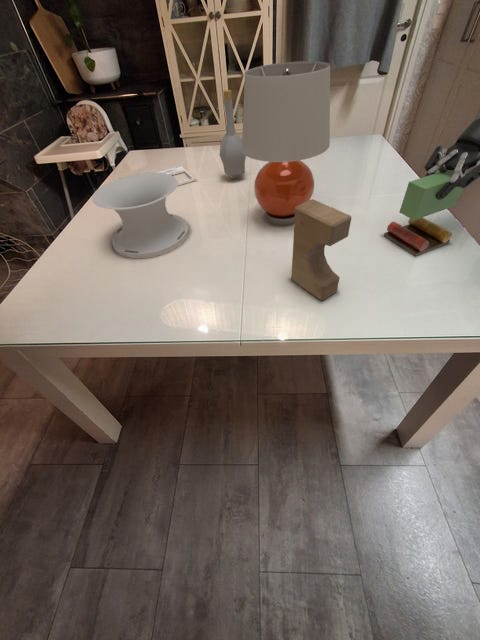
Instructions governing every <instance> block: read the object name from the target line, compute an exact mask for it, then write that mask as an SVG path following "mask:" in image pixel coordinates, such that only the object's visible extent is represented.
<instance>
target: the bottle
mask: <svg viewBox="0 0 480 640" xmlns="http://www.w3.org/2000/svg"><path fill="white" fill-rule="evenodd" d="M222 92H223V104H224V110H225V111H224V112H225V121H226V122H225V123H226V133H225V134H224V136H223V137H222V139H221V141H220V146H219V158H220V160H221V163H222V166H223V172H224V173H225V174H226V175H227V176H229V177H230V178H232V179H233V180H237V179H239V178H240V177H241V176H243V174H244V173H245V172H246V158H247V156H246V155H244V154H243V152H242V139H241V137H240V136H239V135H238V134H237V132H236V128H235V119H234V109H233V108H234V106H233V102H234V101H233V97H232V89H226V90H225V89H224V90H223V91H222Z"/></svg>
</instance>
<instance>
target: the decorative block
mask: <svg viewBox="0 0 480 640" xmlns="http://www.w3.org/2000/svg"><path fill="white" fill-rule="evenodd" d="M351 223H352V215H350V214H348V213H346V212H343V211H341V210H339V209H336V208H334V207H332V206H329V205H327V204H326V203H322V202H321V201H318V200H316V199H314V198H313V199H312V198H311V199H310V201H307V202H305V203H303V204H301V205H299V206H296V207H295V219H294V224H293V242H292V260H291V262H292V263H291V278H290V279H291V281H293V283H296V284H297V285H298V286H300V287H301V288H302V289H304V290H305V291H306V292H308V293H310V295H313V296H314V297H316V298H317V299H319V301H320V302H321V301H324V300H326V299H328V298H329V297H331V296H332V295H334V294H335V293H337V292H338V288H339V284H340V283H339V282H340V276H339V275H338V274H337V273H336V272H335V271H333V269H332V268H331V267H330V265H329V263H328V261H327V258H326V255H325V247H326V246H328V247H331V246H333V245H336V244H338V243H339V242H341V241H343V240H344V239H346V238H348V236H349V232H350V228H351Z"/></svg>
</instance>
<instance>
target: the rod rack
mask: <svg viewBox="0 0 480 640" xmlns="http://www.w3.org/2000/svg"><path fill="white" fill-rule="evenodd" d="M383 237H384V238H386V239H387V240H389V241H390V242H392V243H394V244H395V245H396V246H398V247H400V248H401V249H403V250H404V251H406V252H408V253H409V254H411V255H412V256H414V257H416V256H417V257H418V256H421V255H423V254H426V253H428V252H430V251H433V250H436V249H439V248H441V247H444V246H447V245H449V244H450V242H451V238H452V237H453V232H452V231H450V230H448V229H446V228H444V227H441V226H439V225H438V224H436V223H434V222H432V221H431V220H428V219H426V218H425V217H422V218H419V219H416V220H412V219H410V218H408V224H406V225H402V224H399V223H398V222H396V221H391V222H389V224H387V227H386V232H384V233H383Z"/></svg>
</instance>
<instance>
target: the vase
mask: <svg viewBox="0 0 480 640" xmlns="http://www.w3.org/2000/svg"><path fill="white" fill-rule="evenodd" d="M157 172H158V171H155V172H153V171H151V172H139V173H134V174H129V175H124V176H121V177H119V178H116V179H113V180H111V181H109V182H107V183H105V184H103V185H102V186H100V187H99V188H98V189H97V190H96V191H95V192H94V193H93V195H92V199H91V200H92V202H93V204H94V205H95V206H97V207H99V208H102V209H106V210H113V211H115V212H116V213H117V214H118V216H119V217H120V219H121V224H122V225H121V226H120V227H118V228H117V230H116V231H114V233H113V235H112V237H111V245H112V246H113V249H114V251H115V252H117V254H119V255H120V256H122V257H125V258H129V259H148V258H154V257H159V256H162V255H164V254H168V253H169V252H172V251H173V250H175V249H177V248H178V247H180V246H181V245H182V244H183V243H185V241H186V240H187V238H188V237H189V234H190V229H189V224H188V222H187V221H186V219H185V218H183V217H181V216H180V215H177V214H172V213H169V211H168V210H167V205H166V199H167V197H168V196H170V195H171V194H172V193H174V191H176V190H177V188H178V186H179V185H178V182H179V180H178V179H177V178H176V177H175V176H174V175H169V174H165V173H157Z"/></svg>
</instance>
